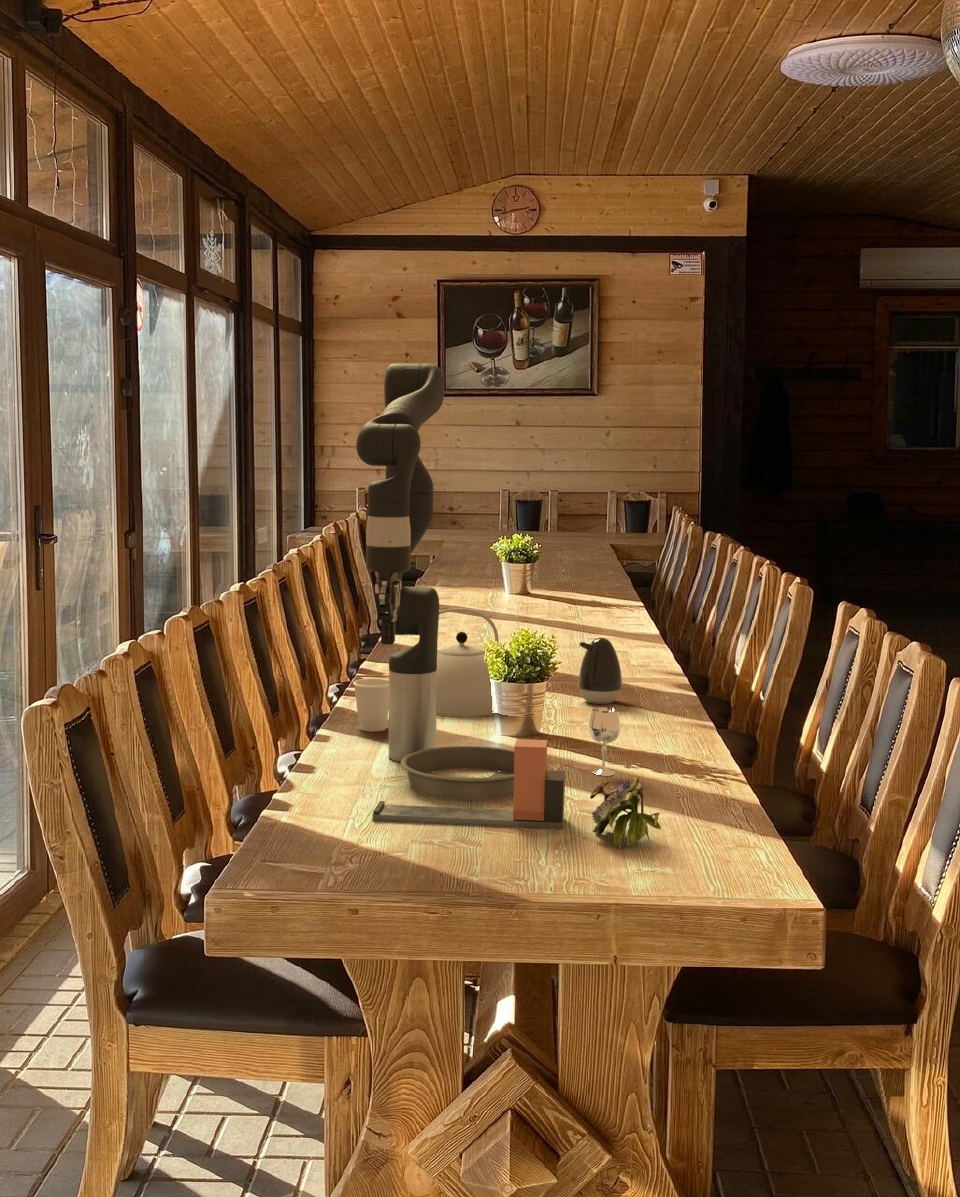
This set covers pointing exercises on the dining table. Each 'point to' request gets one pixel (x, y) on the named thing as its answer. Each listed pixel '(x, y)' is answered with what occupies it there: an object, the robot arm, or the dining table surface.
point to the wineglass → (604, 732)
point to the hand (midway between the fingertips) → (387, 643)
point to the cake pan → (458, 759)
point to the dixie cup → (372, 703)
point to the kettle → (463, 676)
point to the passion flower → (620, 802)
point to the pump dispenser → (600, 672)
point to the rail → (482, 811)
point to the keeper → (529, 779)
